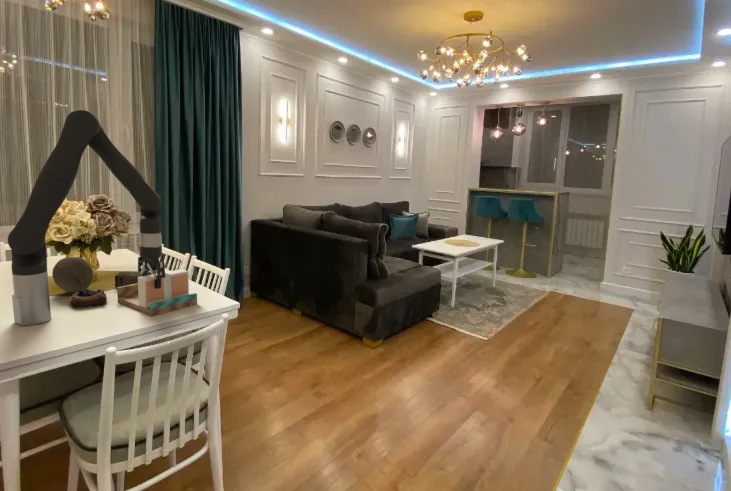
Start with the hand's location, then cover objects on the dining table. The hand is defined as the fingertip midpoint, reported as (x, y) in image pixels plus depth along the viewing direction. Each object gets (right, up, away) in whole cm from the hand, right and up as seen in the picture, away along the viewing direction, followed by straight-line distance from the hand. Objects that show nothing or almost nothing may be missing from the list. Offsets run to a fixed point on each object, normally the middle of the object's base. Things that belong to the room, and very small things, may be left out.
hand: (151, 286), depth 157 cm
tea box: (-1, -7, +2) cm, 7 cm away
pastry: (-26, -8, +4) cm, 28 cm away
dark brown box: (-20, -3, +29) cm, 35 cm away
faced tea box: (+5, -6, +10) cm, 13 cm away
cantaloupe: (-40, -4, +15) cm, 43 cm away
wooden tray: (-2, -8, +9) cm, 12 cm away
